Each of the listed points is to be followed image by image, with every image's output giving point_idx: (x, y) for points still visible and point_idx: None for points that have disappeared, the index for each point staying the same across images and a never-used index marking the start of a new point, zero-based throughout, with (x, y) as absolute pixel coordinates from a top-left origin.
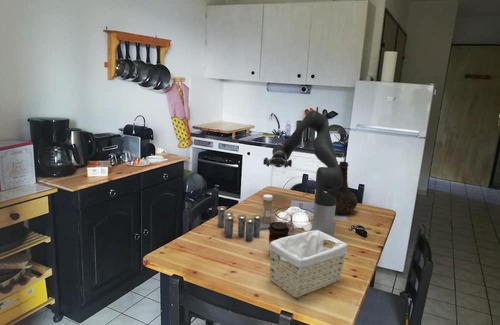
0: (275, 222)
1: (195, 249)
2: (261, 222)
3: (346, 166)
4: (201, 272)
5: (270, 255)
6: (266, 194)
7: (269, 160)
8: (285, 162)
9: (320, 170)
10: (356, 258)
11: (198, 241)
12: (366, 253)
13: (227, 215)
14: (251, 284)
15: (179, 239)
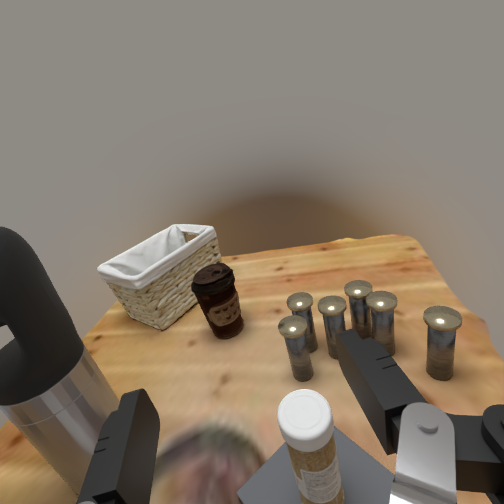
0: (219, 276)
1: (376, 274)
2: None
3: None
4: (316, 251)
5: (217, 244)
6: (321, 427)
7: (400, 427)
8: (116, 464)
9: (9, 229)
10: None
11: (401, 292)
12: (13, 434)
13: (370, 289)
14: (246, 265)
15: (442, 279)
